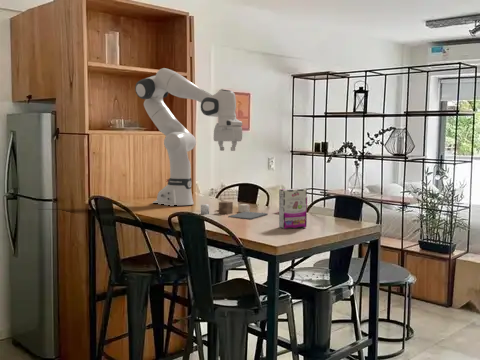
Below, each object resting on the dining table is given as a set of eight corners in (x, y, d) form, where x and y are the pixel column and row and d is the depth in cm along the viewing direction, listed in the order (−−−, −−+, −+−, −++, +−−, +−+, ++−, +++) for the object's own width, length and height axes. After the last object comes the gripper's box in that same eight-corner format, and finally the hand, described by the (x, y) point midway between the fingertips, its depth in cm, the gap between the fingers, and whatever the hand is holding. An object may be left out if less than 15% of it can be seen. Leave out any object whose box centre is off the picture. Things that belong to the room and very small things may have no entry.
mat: (228, 217, 255) (228, 216, 255) (245, 213, 271) (245, 211, 271) (250, 220, 250) (250, 218, 250) (267, 215, 266) (267, 213, 266)
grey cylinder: (199, 215, 263) (199, 205, 263) (203, 214, 266) (203, 204, 266) (206, 215, 261) (206, 205, 261) (210, 214, 265) (210, 204, 264)
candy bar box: (300, 225, 236) (301, 188, 235) (306, 227, 231) (307, 189, 230) (277, 227, 232) (278, 188, 230) (283, 229, 227) (284, 190, 226)
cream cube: (238, 212, 274) (238, 204, 274) (243, 211, 277) (243, 204, 276) (244, 213, 271) (244, 205, 271) (249, 212, 274) (249, 204, 274)
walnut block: (218, 214, 266) (218, 202, 266) (223, 213, 271) (223, 201, 270) (227, 215, 264) (227, 203, 264) (232, 214, 269) (232, 201, 268)
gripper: (210, 123, 274) (210, 150, 275) (233, 122, 258) (234, 151, 259) (220, 123, 278) (220, 150, 279) (244, 122, 261) (244, 150, 262)
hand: (227, 150), depth 269 cm, fingers open, 8 cm apart
